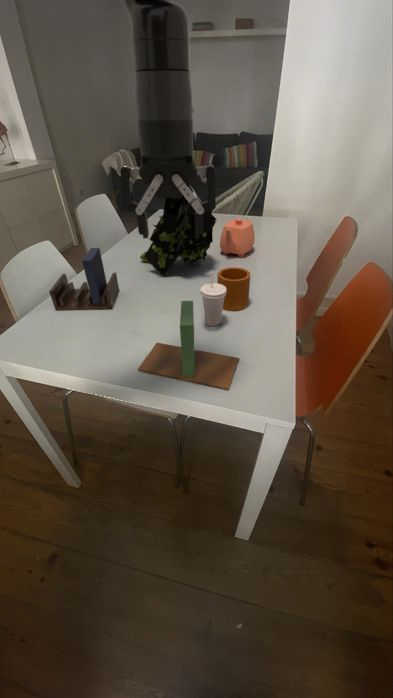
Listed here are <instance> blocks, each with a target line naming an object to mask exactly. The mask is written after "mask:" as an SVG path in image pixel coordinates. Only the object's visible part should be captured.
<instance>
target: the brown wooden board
mask: <svg viewBox="0 0 393 698" xmlns="http://www.w3.org/2000/svg"><path fill="white" fill-rule="evenodd" d="M194 352H195V377H183V368H182V352H181V346H179V345H173V344H168V343H161V342H155V344H154V345H153V347H152V348H151V349H150V351H149V352H148V354H147V355H146V357H145V358H144V359H143V361H142V362H141V364H140V365H139V367H138V368H137V371H138V372H140V373H141V372H142V373H145V374H150V375H154V376H160V377H164V378H170V379H173V380H179V381H183V382H188V383H191V384H192V383H193V384H197V385H201V386H206V387H210V388H215V389H221V390H224V391H229V390H230V387H231V386H232V385H231V384H232V381H233V378H234V376H235V373H236V369H237V367H238V364H239V361H240V357H237V356H232V355H226V354H222V353H221V354H220V353H215V352H210V351H204V350H200V349H195V348H194Z"/></svg>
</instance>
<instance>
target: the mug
mask: <svg viewBox="0 0 393 698" xmlns="http://www.w3.org/2000/svg"><path fill="white" fill-rule="evenodd" d="M217 284H221V285H223V286H225V287H226V292H227V293H226V295H225V298H224V303H223V309H222V310H226V311H232V312H235V311H242V310H244V309H246V308H247V307H248V306H249V299H250V286H251V285H250V284H251V272H250V271H249V270H247V269H245V268H243V267H238V266H237V267H236V266H235V267H232V266H231V267H226V268H222V269H220V270H219V271H218V272H217Z"/></svg>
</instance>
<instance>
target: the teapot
mask: <svg viewBox="0 0 393 698" xmlns="http://www.w3.org/2000/svg"><path fill="white" fill-rule="evenodd" d="M255 237H256V236H255V228H254V224H253V222H252V221H250V220H249V219H244V220H243V218H239V217H237V218H235V219H232V220H229V221H228V222H226V223H225V224H224V226H223V228H222V232H221V234H220V239H219V247H220V250H221V252H223V255H230V254H235V255H237V257H239V258H244V257H245V254H246V253H248V252H251V250H252V248H253V247H254V244H255V239H256V238H255Z"/></svg>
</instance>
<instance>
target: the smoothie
mask: <svg viewBox="0 0 393 698" xmlns="http://www.w3.org/2000/svg"><path fill="white" fill-rule="evenodd" d="M209 275H210V276H209V278H210V279H209V280H210V283H206V284H204V285H202V286H201V288H200V295H201V297H202V303H203V312H204V318H205V324H206V325H207V326H209V327H218V326H219V325H220V324H221V320H222V315H223V314H222V313H223V310H224V309H223V303H224V298H225V295H226V293H227V292H226V287H225V286H223V285H221V284H218V282H217V283H216V282H214V280H213V279H214V272H213V271H210V274H209ZM213 282H214V283H213Z"/></svg>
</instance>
